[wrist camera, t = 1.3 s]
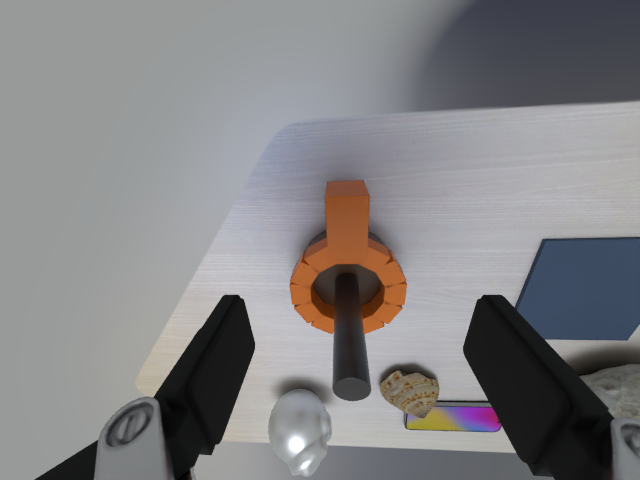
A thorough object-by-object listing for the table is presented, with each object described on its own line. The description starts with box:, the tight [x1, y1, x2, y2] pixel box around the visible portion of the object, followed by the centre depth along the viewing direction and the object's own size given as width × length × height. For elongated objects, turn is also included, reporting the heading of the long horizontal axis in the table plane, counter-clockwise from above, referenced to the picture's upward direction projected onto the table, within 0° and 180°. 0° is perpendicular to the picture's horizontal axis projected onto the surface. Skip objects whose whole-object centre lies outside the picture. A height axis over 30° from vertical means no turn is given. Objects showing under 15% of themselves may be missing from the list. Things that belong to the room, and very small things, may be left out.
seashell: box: [380, 370, 439, 418], centre depth 35 cm, size 8×6×8 cm
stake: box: [305, 231, 385, 401], centre depth 21 cm, size 10×10×14 cm
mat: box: [515, 237, 640, 340], centre depth 27 cm, size 14×14×1 cm
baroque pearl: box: [268, 389, 332, 477], centre depth 35 cm, size 9×10×10 cm
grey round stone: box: [579, 364, 640, 420], centre depth 29 cm, size 18×18×10 cm
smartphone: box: [404, 402, 502, 432], centre depth 39 cm, size 7×1×15 cm
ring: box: [290, 180, 407, 334], centre depth 22 cm, size 16×11×4 cm
